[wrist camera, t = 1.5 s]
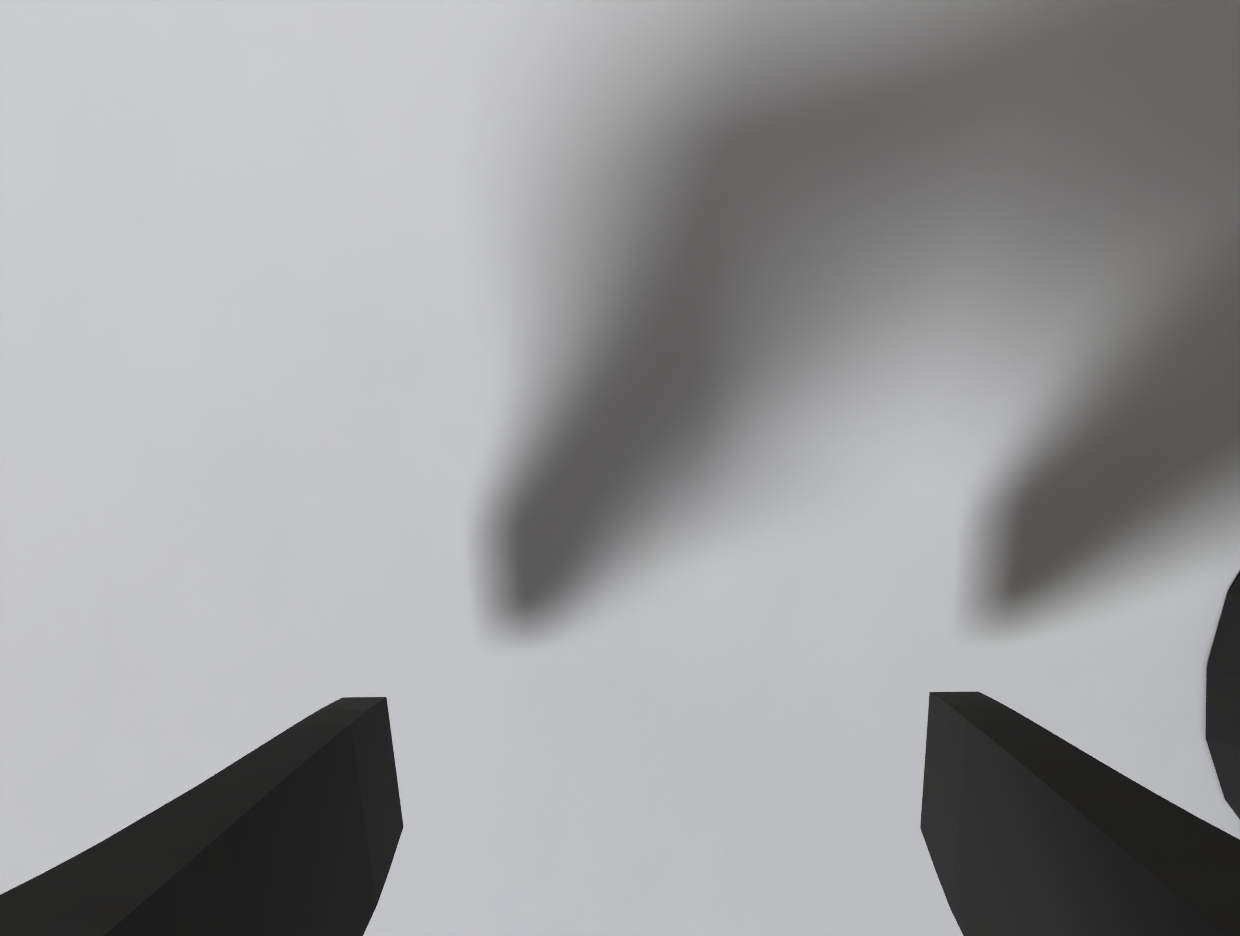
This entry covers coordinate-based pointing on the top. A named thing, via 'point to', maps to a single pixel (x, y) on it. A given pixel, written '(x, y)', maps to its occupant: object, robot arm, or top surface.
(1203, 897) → the robot arm
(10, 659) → the top surface
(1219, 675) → the handle grip
